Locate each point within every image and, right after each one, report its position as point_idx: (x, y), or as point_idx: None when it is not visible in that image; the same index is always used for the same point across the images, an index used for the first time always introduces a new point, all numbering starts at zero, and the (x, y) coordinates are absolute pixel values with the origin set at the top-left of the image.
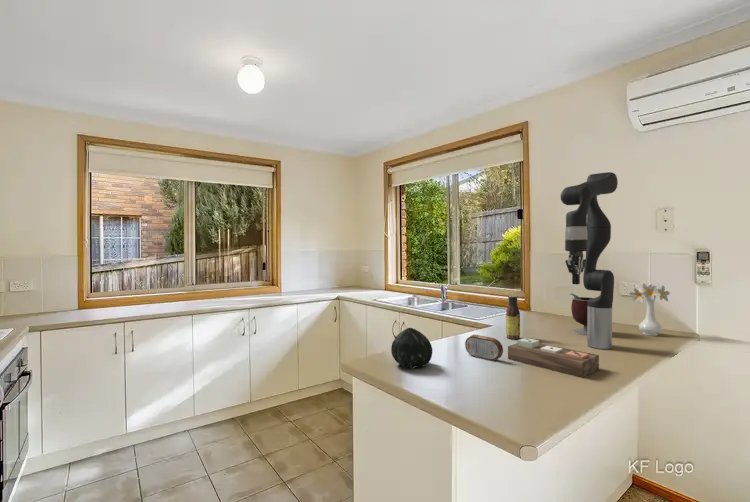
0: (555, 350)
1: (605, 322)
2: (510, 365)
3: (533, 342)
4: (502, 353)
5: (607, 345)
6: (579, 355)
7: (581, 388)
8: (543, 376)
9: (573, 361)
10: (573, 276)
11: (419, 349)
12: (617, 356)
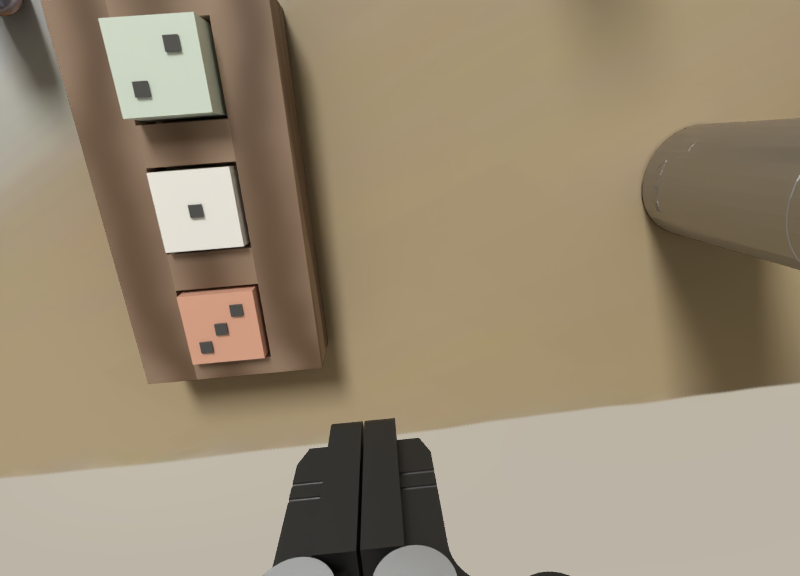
0: (180, 244)
1: (760, 252)
2: (24, 100)
3: (145, 117)
4: (4, 15)
5: (673, 231)
6: (201, 350)
7: (78, 403)
8: (51, 272)
9: (141, 353)
10: (280, 558)
11: None
12: (568, 303)
